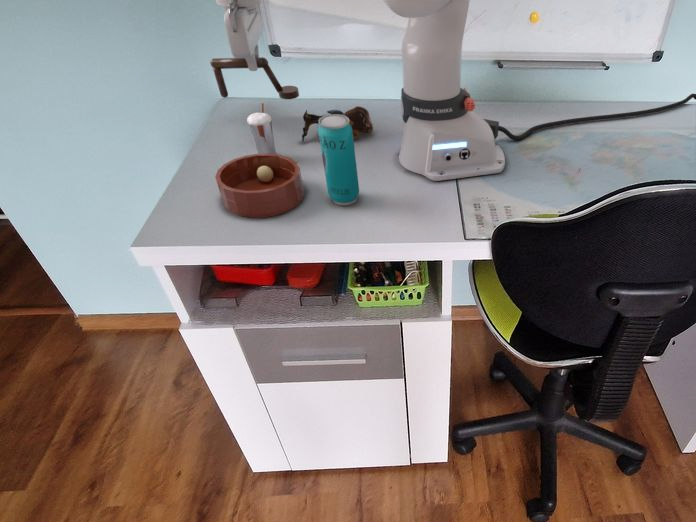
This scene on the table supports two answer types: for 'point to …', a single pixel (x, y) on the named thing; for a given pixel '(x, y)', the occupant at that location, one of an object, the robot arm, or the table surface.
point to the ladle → (235, 63)
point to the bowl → (260, 185)
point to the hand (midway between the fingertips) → (255, 67)
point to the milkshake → (262, 132)
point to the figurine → (357, 116)
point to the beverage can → (339, 158)
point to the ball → (265, 173)
